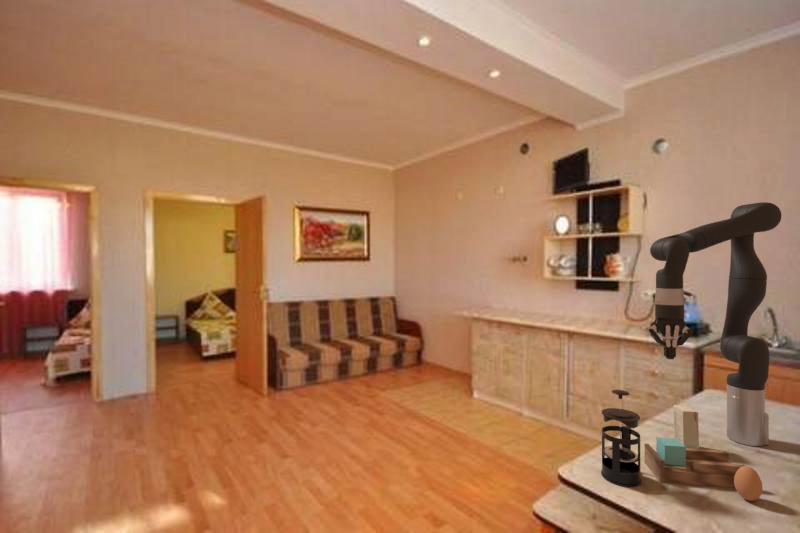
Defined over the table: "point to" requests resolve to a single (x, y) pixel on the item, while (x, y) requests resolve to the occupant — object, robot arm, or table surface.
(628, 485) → the french press
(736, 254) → the robot arm
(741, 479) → the egg
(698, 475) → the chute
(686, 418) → the skincare box
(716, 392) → the table surface
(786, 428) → the table surface
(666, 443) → the block
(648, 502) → the table surface
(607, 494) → the table surface
